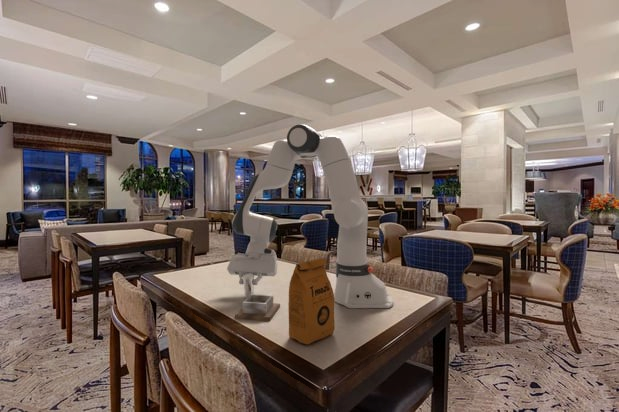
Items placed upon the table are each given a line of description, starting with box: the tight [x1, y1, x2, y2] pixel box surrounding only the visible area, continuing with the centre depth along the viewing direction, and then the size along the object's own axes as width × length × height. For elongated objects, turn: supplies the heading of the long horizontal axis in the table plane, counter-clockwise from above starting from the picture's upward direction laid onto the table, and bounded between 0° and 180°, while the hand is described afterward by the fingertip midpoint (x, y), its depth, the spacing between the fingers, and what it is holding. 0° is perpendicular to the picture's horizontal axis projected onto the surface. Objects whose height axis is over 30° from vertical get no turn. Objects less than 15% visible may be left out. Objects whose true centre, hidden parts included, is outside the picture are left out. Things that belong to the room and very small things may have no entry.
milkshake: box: [241, 272, 255, 299], centre depth 119 cm, size 4×5×10 cm
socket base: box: [234, 294, 281, 322], centre depth 104 cm, size 12×12×5 cm
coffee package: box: [288, 257, 336, 345], centre depth 86 cm, size 10×12×22 cm
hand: (247, 284), depth 118 cm, fingers closed on milkshake, 4 cm apart
